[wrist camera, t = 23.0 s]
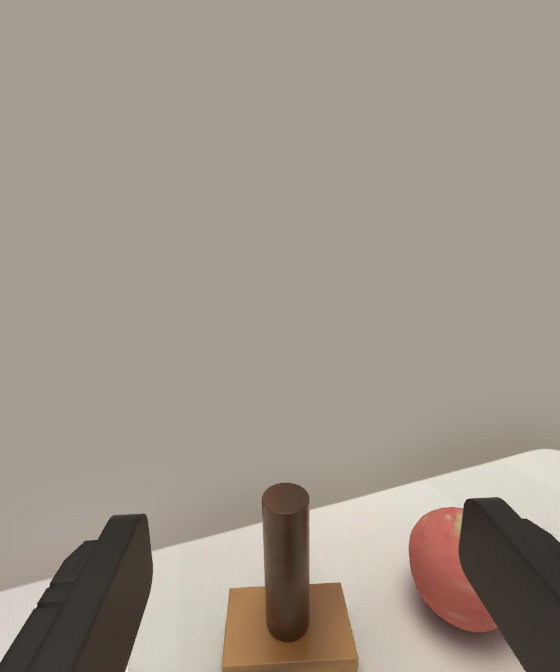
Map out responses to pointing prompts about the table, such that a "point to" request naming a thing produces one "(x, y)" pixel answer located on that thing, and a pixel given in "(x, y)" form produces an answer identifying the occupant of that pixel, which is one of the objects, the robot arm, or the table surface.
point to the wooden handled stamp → (288, 602)
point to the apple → (445, 571)
